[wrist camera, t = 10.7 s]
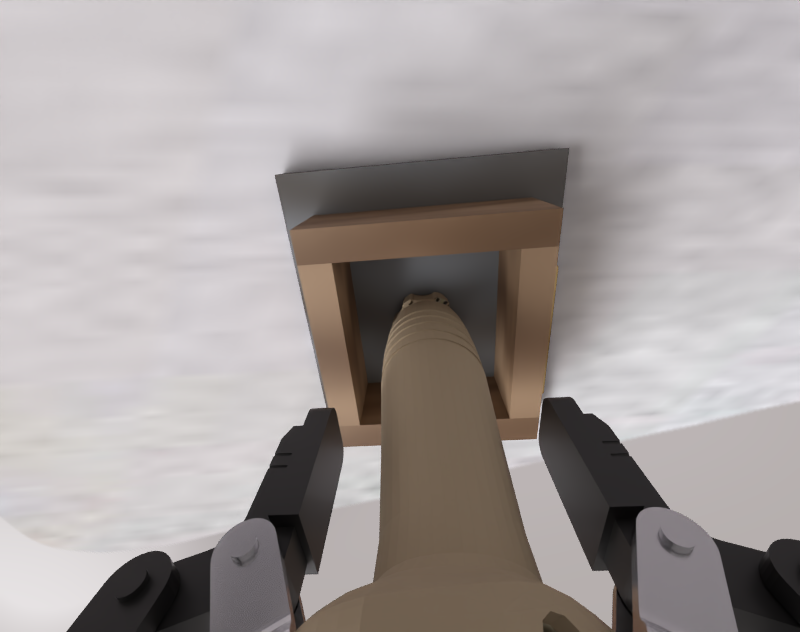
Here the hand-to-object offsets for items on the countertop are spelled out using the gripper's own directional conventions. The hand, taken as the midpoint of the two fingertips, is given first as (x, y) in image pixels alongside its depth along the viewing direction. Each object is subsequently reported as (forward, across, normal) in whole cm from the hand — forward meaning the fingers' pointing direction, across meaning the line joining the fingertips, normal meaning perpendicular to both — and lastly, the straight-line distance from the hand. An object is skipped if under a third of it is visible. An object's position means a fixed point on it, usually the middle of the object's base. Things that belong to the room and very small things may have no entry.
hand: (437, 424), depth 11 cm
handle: (+8, 0, 0) cm, 8 cm away
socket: (+9, 0, 0) cm, 9 cm away
